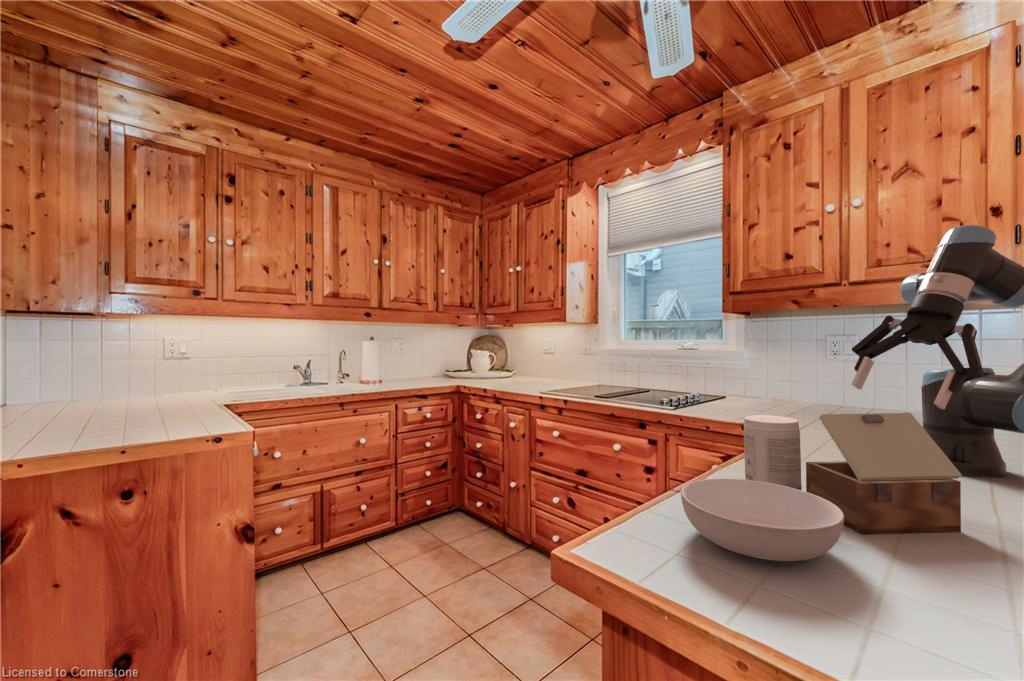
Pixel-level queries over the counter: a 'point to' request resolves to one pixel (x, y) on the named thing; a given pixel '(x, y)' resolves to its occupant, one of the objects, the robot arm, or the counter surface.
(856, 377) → the robot arm
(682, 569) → the counter surface
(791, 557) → the serving bowl
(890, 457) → the lid
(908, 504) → the keepsake box
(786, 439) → the supplement tub
